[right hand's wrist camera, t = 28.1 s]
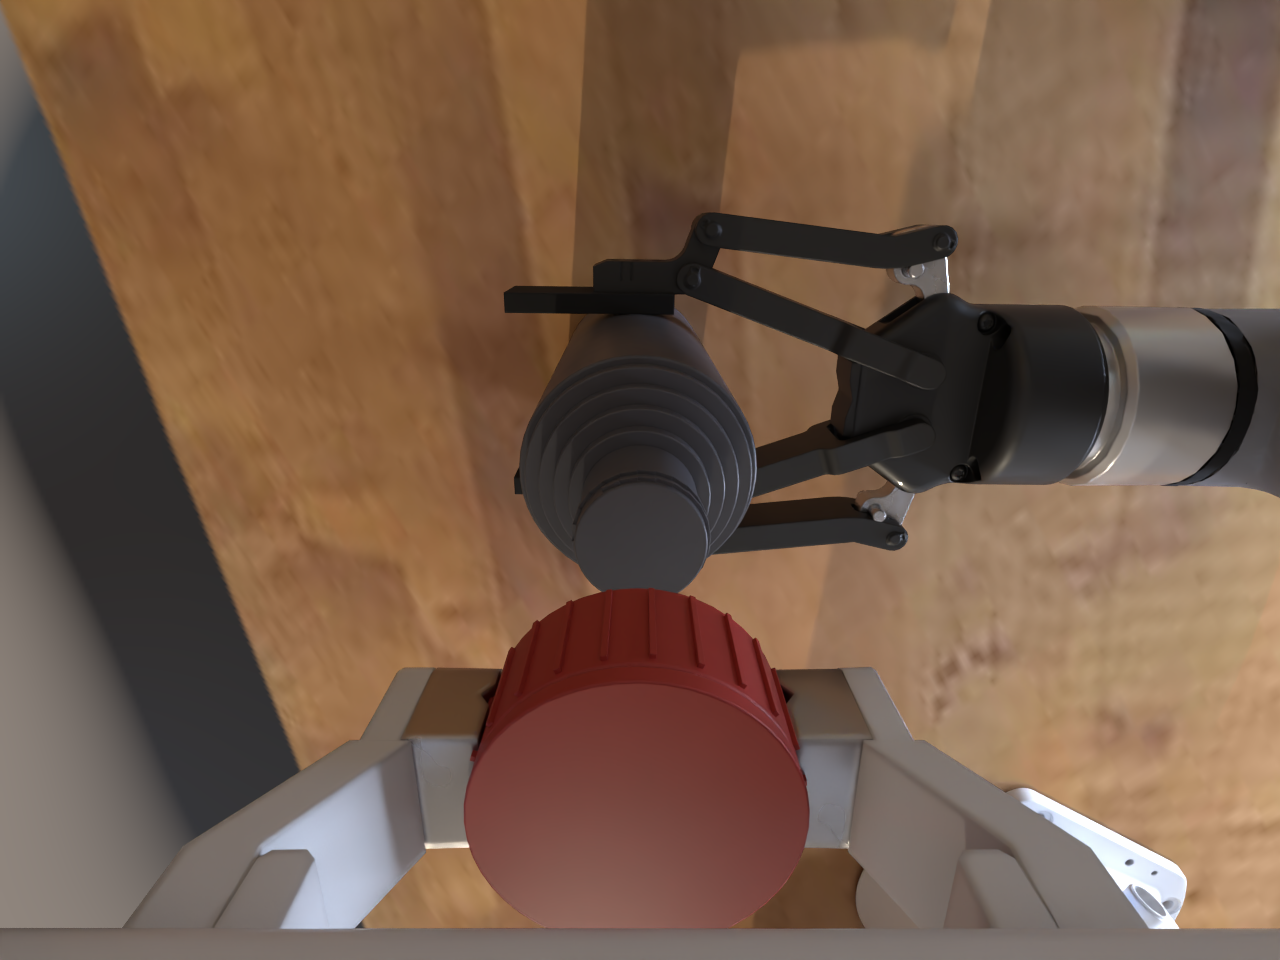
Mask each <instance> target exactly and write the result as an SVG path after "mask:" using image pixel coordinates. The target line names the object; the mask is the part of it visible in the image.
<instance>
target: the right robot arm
mask: <svg viewBox="0 0 1280 960" xmlns="http://www.w3.org/2000/svg"><path fill="white" fill-rule="evenodd" d="M502 671H503V670H502V669H479V668H437V669H436V668H403V669H401V670H399V671H398V672H397V674H396V675H395V677H394V679H393V681H392V683H391V684H390V686H389V688H388V690H387V692H386V693H385V695H384V697H383V699H382V701H381V703H380V704H379V706H378V708H377V710H376V712H375V713H374V715H373V717H372V719H371V721H370V722H369V724H368V726H367V728H366V730H365V732H364V733H363V735H362V737H361V739H360V740H349V741H348V742H346V743H345V744H343V745H341V746H340V747H338V748H337V749H335V750H334V751H332V752H330V753H329V754H327V755H326V756H324V757H323V758H321V759H319V760H318V761H316V762H315V763H313V764H312V765H310V766H308V767H307V768H305V769H304V770H302V771H301V772H299V773H297V774H296V775H294V776H293V777H291V778H290V779H288V780H286V781H285V782H283V783H282V784H280V785H279V786H277V787H275V788H274V789H272V790H271V791H269V792H268V793H266V794H264V795H263V796H261V797H260V798H258V799H256V800H255V801H253V802H252V803H250V804H249V805H247V806H245V807H244V808H242V809H241V810H239V811H238V812H236V813H234V814H233V815H231V816H230V817H228V818H227V819H225V820H223V821H222V822H220V823H219V824H217V825H216V826H214V827H212V828H211V829H209V830H208V831H206V832H205V833H203V834H201V835H200V836H198V837H197V838H195V839H194V840H192V841H190V842H189V843H187V844H186V845H184V846H183V847H182V848H181V850H180V851H179V852H178V854H177V855H176V856H175V858H174V859H173V860H172V862H171V863H170V864H169V866H168V867H167V869H166V870H165V871H164V872H163V874H162V875H161V876H160V878H159V879H158V880H157V882H156V883H155V884H154V886H153V887H152V889H151V890H150V891H149V893H148V894H147V895H146V897H145V898H144V899H143V901H142V902H141V903H140V905H139V906H138V907H137V909H136V910H135V911H134V913H133V914H132V915H131V917H130V918H129V919H128V921H127V922H126V923H125V925H124V926H123V927H122V928H0V960H1280V929H1179V927H1178V926H1177V924H1176V923H1175V922H1174V920H1175V919H1176V917H1177V915H1178V913H1179V911H1180V909H1181V906H1182V904H1183V901H1184V897H1185V893H1186V878H1185V876H1184V875H1183V873H1182V872H1181V870H1180V869H1179V867H1178V866H1177V865H1176V864H1174V863H1173V862H1171V861H1169V860H1167V859H1165V858H1163V857H1162V856H1160V855H1158V854H1156V853H1154V852H1152V851H1150V850H1148V849H1146V848H1144V847H1142V846H1140V845H1138V844H1136V843H1134V842H1133V841H1131V840H1129V839H1127V838H1125V837H1123V836H1121V835H1119V834H1117V833H1115V832H1113V831H1111V830H1109V829H1107V828H1105V827H1103V826H1102V825H1100V824H1098V823H1096V822H1094V821H1092V820H1090V819H1088V818H1086V817H1084V816H1082V815H1080V814H1078V813H1076V812H1074V811H1072V810H1071V809H1069V808H1067V807H1065V806H1063V805H1061V804H1059V803H1057V802H1055V801H1053V800H1051V799H1049V798H1047V797H1045V796H1043V795H1041V794H1039V793H1038V792H1036V791H1034V790H1031V789H1028V788H1017V789H1013V790H1010V791H1008V792H1004V791H1002V790H1001V789H999V788H998V787H996V786H994V785H993V784H991V783H990V782H988V781H987V780H985V779H984V778H982V777H980V776H979V775H977V774H976V773H974V772H973V771H971V770H970V769H968V768H966V767H965V766H963V765H962V764H960V763H959V762H957V761H956V760H954V759H952V758H951V757H949V756H948V755H946V754H945V753H943V752H942V751H940V750H938V749H937V748H935V747H934V746H932V745H931V744H929V743H928V742H926V741H924V740H914V739H913V737H912V736H911V734H910V732H909V730H908V728H907V726H906V725H905V723H904V721H903V719H902V717H901V715H900V714H899V712H898V710H897V708H896V706H895V704H894V703H893V701H892V699H891V697H890V695H889V693H888V692H887V690H886V688H885V686H884V684H883V682H882V681H881V679H880V677H879V675H878V673H877V671H876V670H874V669H873V668H871V667H857V668H838V669H796V670H776V673H777V676H778V679H779V683H780V686H781V688H782V691H783V695H784V698H785V701H786V705H787V709H788V712H789V715H790V719H791V722H792V725H793V728H794V732H795V735H796V738H797V741H798V744H799V747H800V749H799V750H796V754H797V757H798V761H799V764H800V768H801V771H802V774H803V775H805V776H806V779H807V786H806V788H807V791H808V798H809V806H810V817H809V829H808V834H807V839H806V843H805V847H807V848H842V849H848V852H849V853H850V854H851V855H852V857H853V858H854V859H855V860H856V861H857V862H858V863H859V864H860V865H861V866H862V867H863V868H864V870H863V872H862V874H861V876H860V879H859V881H858V885H857V890H856V908H857V912H858V915H859V918H860V920H861V922H862V924H863V925H864V927H865V928H866V929H755V928H384V929H354V928H355V927H356V926H357V925H358V924H359V923H360V922H361V921H362V920H363V919H364V918H365V917H366V915H367V914H368V913H369V912H370V911H371V910H372V909H373V908H374V907H375V906H376V905H377V904H378V903H379V902H380V901H381V900H382V899H383V897H384V896H385V895H386V894H387V893H388V892H389V891H390V890H391V889H392V888H393V887H394V886H395V885H396V884H397V883H398V882H399V881H400V879H401V878H402V877H403V876H404V875H405V874H406V873H407V872H408V871H409V870H410V869H411V868H412V867H413V866H414V865H415V864H416V862H417V861H418V860H419V859H420V858H421V857H422V856H423V855H424V854H425V853H426V849H432V848H466V847H469V845H468V842H467V838H466V832H465V826H464V799H465V793H466V787H467V784H468V780H469V777H470V774H471V771H472V768H473V764H474V762H473V761H470V757H471V754H472V751H473V750H475V751H478V749H479V746H480V743H481V740H482V736H483V733H484V730H485V727H486V722H487V718H488V715H489V705H488V701H489V699H490V698H491V697H493V696H495V693H496V690H497V687H498V683H499V680H500V677H501V674H502Z"/></svg>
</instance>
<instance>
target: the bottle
mask: <svg viewBox="0 0 1280 960" xmlns="http://www.w3.org/2000/svg"><path fill="white" fill-rule="evenodd" d="M519 468H520V482H521V487H522V492H523V496H524V499H525V502H526V504H527V507H528V510H529V512H530V514H531V516H532V517H533V519H534V521H535V523H536V524H537V526H538V527H539V529H540V530H541V532H542V533H543V534H544V535H545V536H546V537H547V539H548V540H549V541H550V542H551V543H552V544H553V545H554V546H555V547H556V548H557V549H559V550H560V551H561V552H562V553H563V554H564V555H565V556H567V557H568V558H570V559H571V560H573V561H574V562H576V563H577V564H579V566H580V568H581V571H582V572H583V574H584V575H585V577H586V578H587V579H588V580H589V581H590V582H591V584H593V585H594V586H595V587H596V588H597V589H598V590H600V591H601V592H605V591H606V590H609V589H612V590H618V589H630V588H633V589H635V588H643V589H648V588H654V589H656V590H663V591H668V592H674V593H678V592H680V591H681V590H683V589H684V588H685V587H686V586H687V585H689V584H690V583H691V582H692V580H693V579H694V578H695V577H696V576H697V574H698V573H699V571H700V570H701V568H703V565H704V563H705V560H706V558H708V557H709V556H710V555H712V554H713V553H714V552H715V551H716V550H717V549H719V548H720V547H721V546H722V545H723V544H724V543H725V541H726V540H727V539H728V538H729V537H730V536H731V535H732V534H733V532H734V531H735V530H736V528H737V527H738V525H739V524H740V522H741V521H742V519H743V517H744V515H745V513H746V511H747V509H748V507H749V504H750V501H751V499H752V496H753V492H754V487H755V482H756V472H757V460H756V449H755V445H754V440H753V436H752V433H751V430H750V427H749V425H748V422H747V420H746V418H745V417H744V415H743V413H742V411H741V409H740V407H739V406H738V404H737V402H736V401H735V399H734V397H733V396H732V394H731V392H730V391H729V389H728V387H727V385H726V384H725V382H724V380H723V379H722V377H721V375H720V374H719V372H718V370H717V369H716V367H715V365H714V364H713V362H712V360H711V359H710V357H709V355H708V354H707V352H706V350H705V349H704V347H703V345H702V344H701V342H700V340H699V338H698V337H697V335H696V333H695V332H694V330H693V328H692V327H691V325H690V324H689V322H688V321H687V320H686V318H685V317H684V316H683V315H682V314H681V313H680V312H679V311H678V310H676V309H675V308H674V315H650V314H587V315H586V316H585V317H584V318H583V319H582V321H581V322H580V323H579V325H578V326H577V328H576V330H575V332H574V334H573V336H572V338H571V340H570V342H569V344H568V346H567V348H566V349H565V351H564V353H563V355H562V357H561V359H560V361H559V363H558V365H557V367H556V369H555V371H554V373H553V375H552V377H551V379H550V381H549V383H548V385H547V387H546V389H545V391H544V393H543V395H542V397H541V399H540V401H539V403H538V405H537V407H536V409H535V411H534V413H533V415H532V417H531V419H530V421H529V424H528V426H527V429H526V432H525V434H524V438H523V442H522V446H521V451H520V463H519Z"/></svg>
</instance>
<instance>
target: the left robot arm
mask: <svg viewBox="0 0 1280 960" xmlns="http://www.w3.org/2000/svg"><path fill="white" fill-rule="evenodd" d="M957 243H958V236H957V232H956V231H955V230H954V229H953V228H952V227H950V226H947V225H914V226H910V227H905V228H901V229H897V230H893V231H889V232H885V233H880V234H874V233H866V232H859V231H851V230H843V229H836V228H828V227H821V226H813V225H805V224H798V223H790V222H783V221H775V220H767V219H760V218H752V217H745V216H737V215H730V214H722V213H702V214H700V215H698V216H697V217H696V218H695V219H694V220H693V222H692V225H691V230H690V232H689V235H688V238H687V240H686V243H685V246H684V248H683V250H682V251H681V252H680V254H679V255H677V256H676V257H674V258H672V259H668V260H644V259H606V260H604V261H601V262H599V263H596V264H595V265H594V266H593V287H558V286H514V287H513V288H511V289H509V290H507V291H506V292H504V306H505V313H569V314H650V315H674V298H675V295H674V294H686V295H688V296H691V297H693V298H696V299H699V300H701V301H704V302H706V303H709V304H711V305H714V306H716V307H719V308H721V309H724V310H727V311H729V312H732V313H734V314H737V315H739V316H742V317H744V318H747V319H750V320H752V321H755V322H757V323H760V324H762V325H765V326H767V327H770V328H773V329H775V330H778V331H780V332H783V333H785V334H788V335H790V336H793V337H796V338H798V339H801V340H803V341H806V342H808V343H811V344H813V345H816V346H819V347H821V348H824V349H826V350H829V351H831V352H833V353H835V354H837V355H838V359H837V368H836V373H837V379H838V386H839V390H838V393H837V395H836V398H835V400H834V403H833V405H832V412H831V420H828V421H825V422H822V423H819V424H816V425H813V426H811V427H810V428H809V429H808V430H807V431H806V432H803V433H801V434H798V435H795V436H791V437H788V438H785V439H782V440H779V441H776V442H773V443H770V444H767V445H764V446H761V447H758V448H755V449H756V460H757V472H756V482H755V487H754V492H753V496H752V498H753V497H756V496H759V495H762V494H765V493H768V492H772V491H775V490H778V489H781V488H784V487H787V486H790V485H793V484H797V483H800V482H803V481H806V480H809V479H812V478H815V477H818V476H822V475H825V474H831V475H840V474H844V473H847V472H850V471H853V470H857V469H860V468H863V467H866V466H869V467H870V468H872V469H873V470H874V471H876V472H877V473H878V474H880V475H881V476H882V477H884V478H885V479H886V480H887V482H886V484H885V485H884V486H883V487H881V488H880V489H877V490H866V491H860V492H859V493H858V494H857V497H856V499H854V498H849V497H823V498H813V499H802V500H791V501H780V502H769V503H758V504H749V507H748V509H747V511H746V513H745V515H744V517H743V519H742V521H741V522H740V524H739V525H738V527H737V528H736V530H735V531H734V532H733V534H732V535H731V536H730V537H729V538H728V539H727V540H726V541H725V543H724V544H723V545H722V546H721V547H720V548H719V549H717V550H716V551H715V552H714V553H713V554H712V555H714V554H725V553H736V552H747V551H758V550H769V549H781V548H792V547H803V546H814V545H825V544H836V543H847V542H856V543H860V544H865V545H869V546H873V547H877V548H882V549H886V550H893V551H895V550H898V549H900V548H902V547H903V546H904V545H905V544H906V542H907V540H908V534H907V531H906V530H905V529H904V528H903V527H902V523H903V520H904V518H905V516H906V513H907V511H908V509H909V506H910V504H911V502H912V499H913V497H914V495H915V493H921V492H924V491H927V490H929V489H931V488H933V487H935V486H938V485H941V484H945V483H965V484H1012V485H1047V484H1053V483H1056V482H1059V483H1063V484H1067V485H1071V486H1082V485H1161V486H1178V485H1188V486H1227V487H1244V488H1251V489H1257V490H1260V491H1264V492H1267V493H1270V494H1273V495H1275V496H1277V497H1279V498H1280V309H1201V308H1169V307H1118V306H1081V307H1078V308H1075V309H1073V308H1071V307H1068V306H1063V305H1011V304H970V303H967V302H966V301H964V300H962V299H961V298H960V297H958V296H956V295H954V294H951V293H949V281H948V266H947V257H948V256H950V255H951V254H952V253H953V252H954V250H955V249H956V247H957ZM720 248H724V249H732V250H739V251H747V252H755V253H763V254H770V255H778V256H786V257H794V258H801V259H809V260H817V261H825V262H832V263H840V264H848V265H856V266H863V267H871V268H882V269H886V271H887V275H888V277H889V278H890V279H891V280H892V281H894V282H897V283H901V284H905V285H910V286H912V287H913V289H914V290H915V294H916V296H915V297H913V298H912V299H910V300H909V301H907V302H906V303H904V304H903V305H901V306H900V307H898V308H897V309H895V310H894V311H892V312H890V313H889V314H887V315H886V316H884V317H883V318H881V319H880V320H878V321H877V322H875V323H874V324H872V325H871V326H869V327H868V328H866V329H864V328H862V327H859V326H857V325H854V324H852V323H849V322H847V321H844V320H842V319H839V318H837V317H834V316H832V315H829V314H826V313H824V312H821V311H819V310H816V309H814V308H811V307H809V306H806V305H804V304H801V303H799V302H796V301H794V300H791V299H789V298H786V297H784V296H781V295H779V294H776V293H774V292H771V291H769V290H766V289H764V288H761V287H759V286H756V285H754V284H751V283H749V282H746V281H743V280H741V279H738V278H736V277H733V276H731V275H728V274H726V273H723V272H721V271H718V270H716V269H713V268H712V267H713V265H714V262H715V260H716V257H717V255H718V252H719V250H720ZM514 484H515V494H523V492H522V487H521V482H520V468H518V470H517V472H516V474H515V477H514Z"/></svg>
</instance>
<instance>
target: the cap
mask: <svg viewBox="0 0 1280 960" xmlns="http://www.w3.org/2000/svg"><path fill="white" fill-rule="evenodd" d="M488 705H489V715H488V718H487V722H486V727H485V730H484V733H483V736H482V740H481V743H480V746H479V749H478V751H475V750H473V751H472V754H471V757H470V761H473V762H474V764H473V768H472V771H471V774H470V777H469V780H468V784H467V787H466V793H465V799H464V826H465V832H466V838H467V842H468V845H469V848H470V850H471V853H472V856H473V858H474V860H475V862H476V864H477V866H478V868H479V870H480V871H481V873H482V875H483V876H484V877H485V879H486V880H487V881H488V883H489V884H490V885H491V887H492V888H493V889H494V890H495V891H496V892H497V893H498V894H499V895H500V896H501V897H502V898H503V899H504V900H505V901H506V902H507V903H508V904H509V905H511V906H512V907H513V908H514V909H516V910H517V911H518V912H519V913H521V914H523V915H524V916H526V917H527V918H529V919H531V920H532V921H534V922H535V923H537V924H539V925H541V926H543V927H545V928H729V927H731V926H733V925H735V924H737V923H738V922H740V921H742V920H744V919H745V918H747V917H749V916H750V915H752V914H753V913H754V912H756V911H757V910H758V909H760V908H761V907H762V906H764V905H765V904H766V903H767V902H768V901H769V900H770V899H771V898H772V897H773V896H774V895H775V894H776V893H777V892H778V891H779V890H780V889H781V888H782V886H783V885H784V884H785V882H786V881H787V880H788V879H789V877H790V876H791V874H792V872H793V871H794V869H795V867H796V865H797V864H798V862H799V859H800V857H801V854H802V852H803V849H804V847H805V843H806V839H807V834H808V829H809V817H810V806H809V798H808V791H807V788H806V786H807V779H806V776H805V775H803V774H802V771H801V768H800V764H799V761H798V757H797V754H796V750H799V749H800V747H799V744H798V741H797V738H796V735H795V732H794V728H793V725H792V722H791V719H790V715H789V712H788V709H787V705H786V701H785V698H784V695H783V691H782V688H781V686H780V683H779V679H778V676H777V673H776V669H775V668H772V669H771V668H770V666H769V664H768V661H767V659H766V657H765V655H764V654H763V652H762V651H761V647H760V643H759V641H758V640H757V638H754V639H752V637H751V636H750V635H749V634H748V633H747V632H746V631H745V630H744V629H743V628H742V627H741V626H740V625H738V624H737V623H736V622H735V621H733V620H732V617H731V615H729V614H728V613H726V614H723V613H722V612H720V611H719V610H717V609H715V608H714V607H712V606H710V605H708V604H706V603H703V602H701V601H699V600H697V599H696V598H695V597H693V596H690V597H688V596H686V595H682V594H678V593H674V592H668V591H663V590H656V589H654V588H648V589H643V588H635V589H633V588H630V589H618V590H612V589H609V590H606V591H605V592H600V593H597V594H593V595H590V596H586V597H583V598H580V599H578V600H576V601H573V602H572V600H571V601H568V602H567V603H566V605H564V606H563V607H561V608H559V609H557V610H556V611H554V612H552V613H551V614H549V615H548V616H546V617H545V618H544V619H542V620H541V621H540V622H539V621H538V620H537V621H535V622H534V623H533V626H532V629H531V630H530V631H529V632H528V633H527V634H526V635H525V636H524V637H523V638H522V639H521V640H520V642H519V643H518V644H517V646H516V647H515V648H513V647H511V648H510V650H509V652H508V655H507V658H506V661H505V664H504V668H503V671H502V674H501V677H500V680H499V683H498V687H497V690H496V693H495V696H493V697H491V698H490V699H489V701H488Z"/></svg>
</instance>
